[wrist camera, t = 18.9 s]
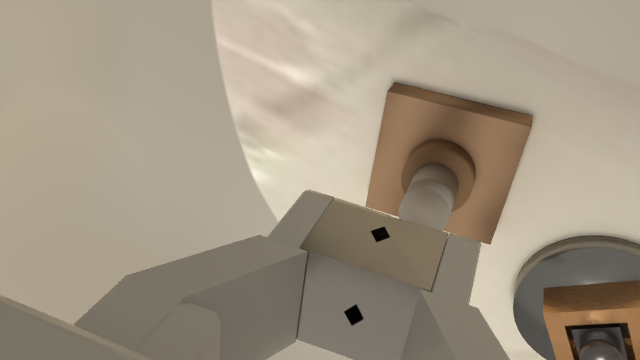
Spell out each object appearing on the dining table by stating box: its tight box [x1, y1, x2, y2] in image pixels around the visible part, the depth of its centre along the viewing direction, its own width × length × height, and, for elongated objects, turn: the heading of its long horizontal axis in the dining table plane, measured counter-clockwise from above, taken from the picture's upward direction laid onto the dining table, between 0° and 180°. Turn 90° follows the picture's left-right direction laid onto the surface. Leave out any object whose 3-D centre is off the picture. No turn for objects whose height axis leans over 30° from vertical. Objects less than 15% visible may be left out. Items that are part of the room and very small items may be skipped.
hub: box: [513, 236, 640, 360], centre depth 41 cm, size 12×12×7 cm
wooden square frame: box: [543, 280, 640, 360], centre depth 41 cm, size 6×6×3 cm
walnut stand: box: [366, 83, 533, 244], centre depth 39 cm, size 10×10×8 cm
